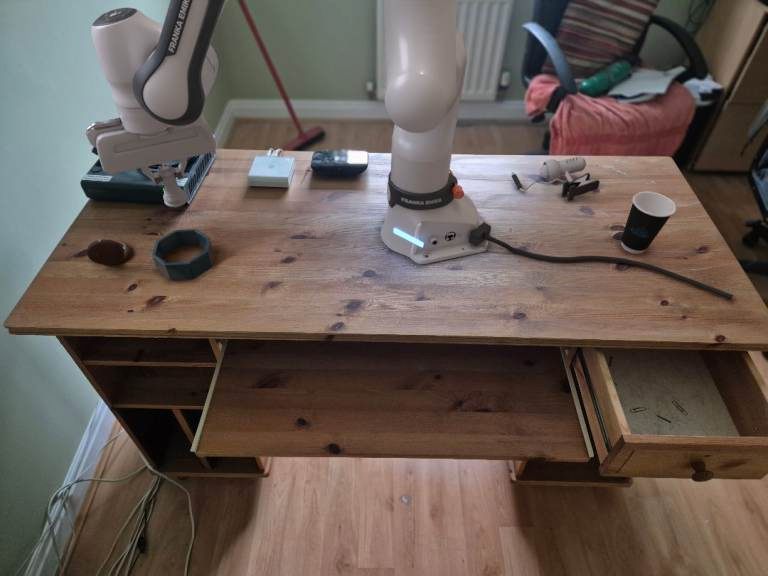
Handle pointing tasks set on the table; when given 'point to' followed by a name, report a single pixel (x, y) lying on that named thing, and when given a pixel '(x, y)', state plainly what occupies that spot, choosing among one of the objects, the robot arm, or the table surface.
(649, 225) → the dixie cup
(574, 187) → the clip-on lamp
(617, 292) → the table surface
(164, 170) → the rook chess piece
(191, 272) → the octagonal bangle
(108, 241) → the dark brown rounded lump
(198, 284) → the table surface
